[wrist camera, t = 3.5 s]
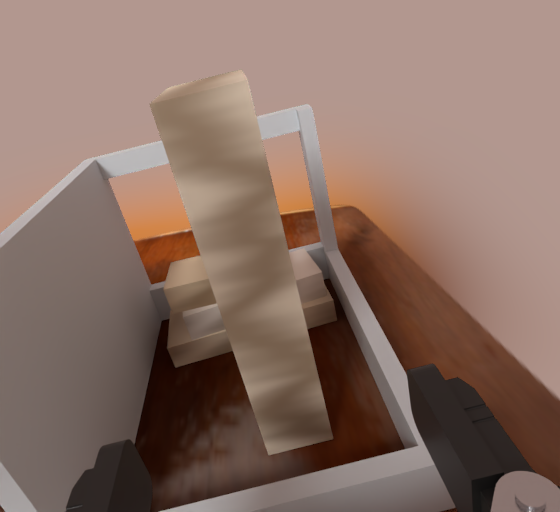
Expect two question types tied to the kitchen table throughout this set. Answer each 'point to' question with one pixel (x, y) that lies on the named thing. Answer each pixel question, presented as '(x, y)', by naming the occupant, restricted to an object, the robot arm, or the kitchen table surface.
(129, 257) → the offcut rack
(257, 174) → the tan wooden block
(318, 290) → the offcut stack
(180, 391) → the kitchen table surface
